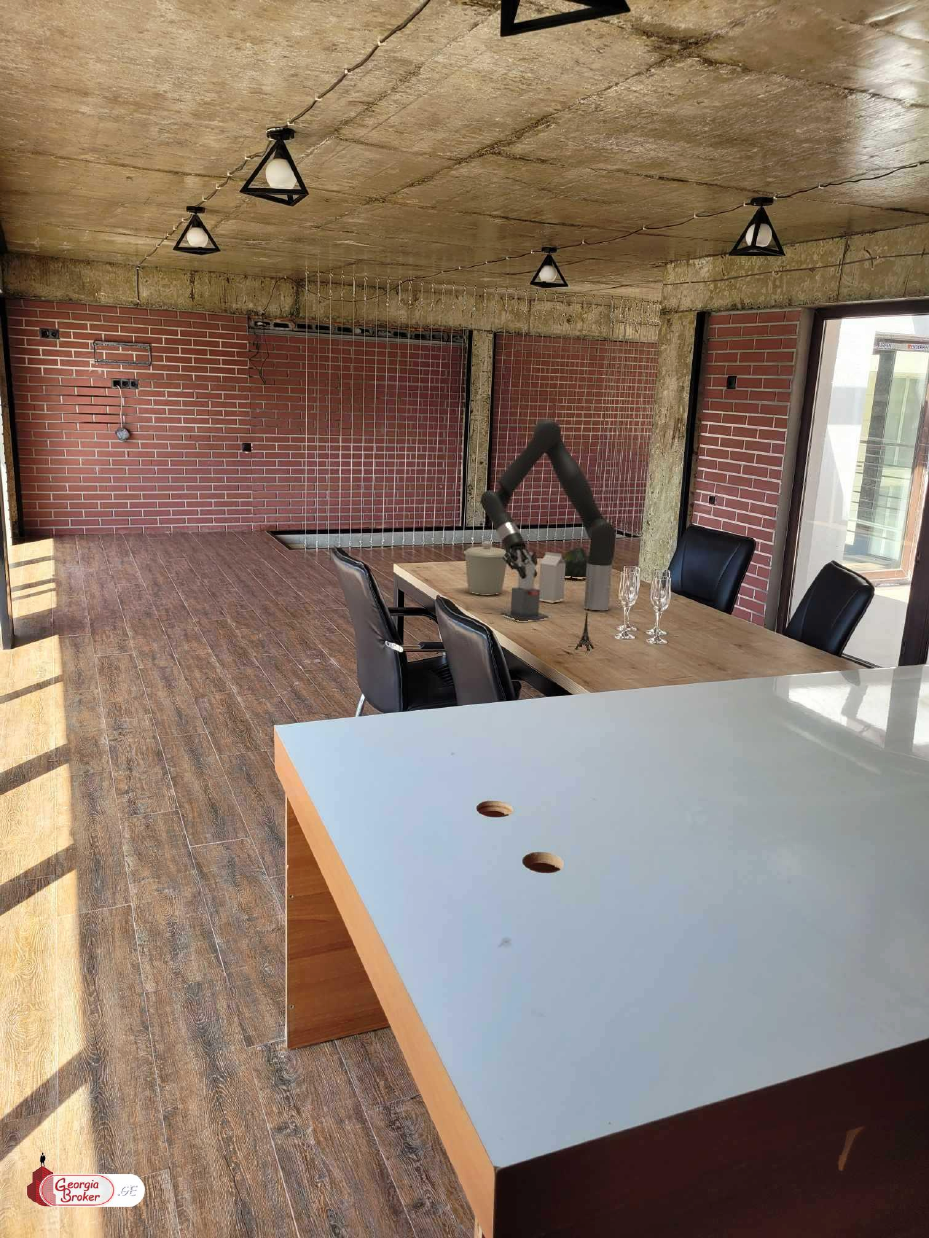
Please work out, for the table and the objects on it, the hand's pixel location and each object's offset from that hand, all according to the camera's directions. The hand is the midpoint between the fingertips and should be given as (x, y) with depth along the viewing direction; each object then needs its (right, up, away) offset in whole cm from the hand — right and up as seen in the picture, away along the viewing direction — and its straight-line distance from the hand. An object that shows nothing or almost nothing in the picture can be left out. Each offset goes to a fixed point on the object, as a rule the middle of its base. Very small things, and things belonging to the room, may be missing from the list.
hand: (529, 577), depth 324 cm
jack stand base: (-2, -14, +5) cm, 15 cm away
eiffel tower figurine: (+14, -25, -35) cm, 45 cm away
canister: (-15, -5, +46) cm, 49 cm away
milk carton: (+11, -8, +35) cm, 38 cm away
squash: (+26, +3, +87) cm, 91 cm away
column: (-2, -11, +4) cm, 12 cm away
